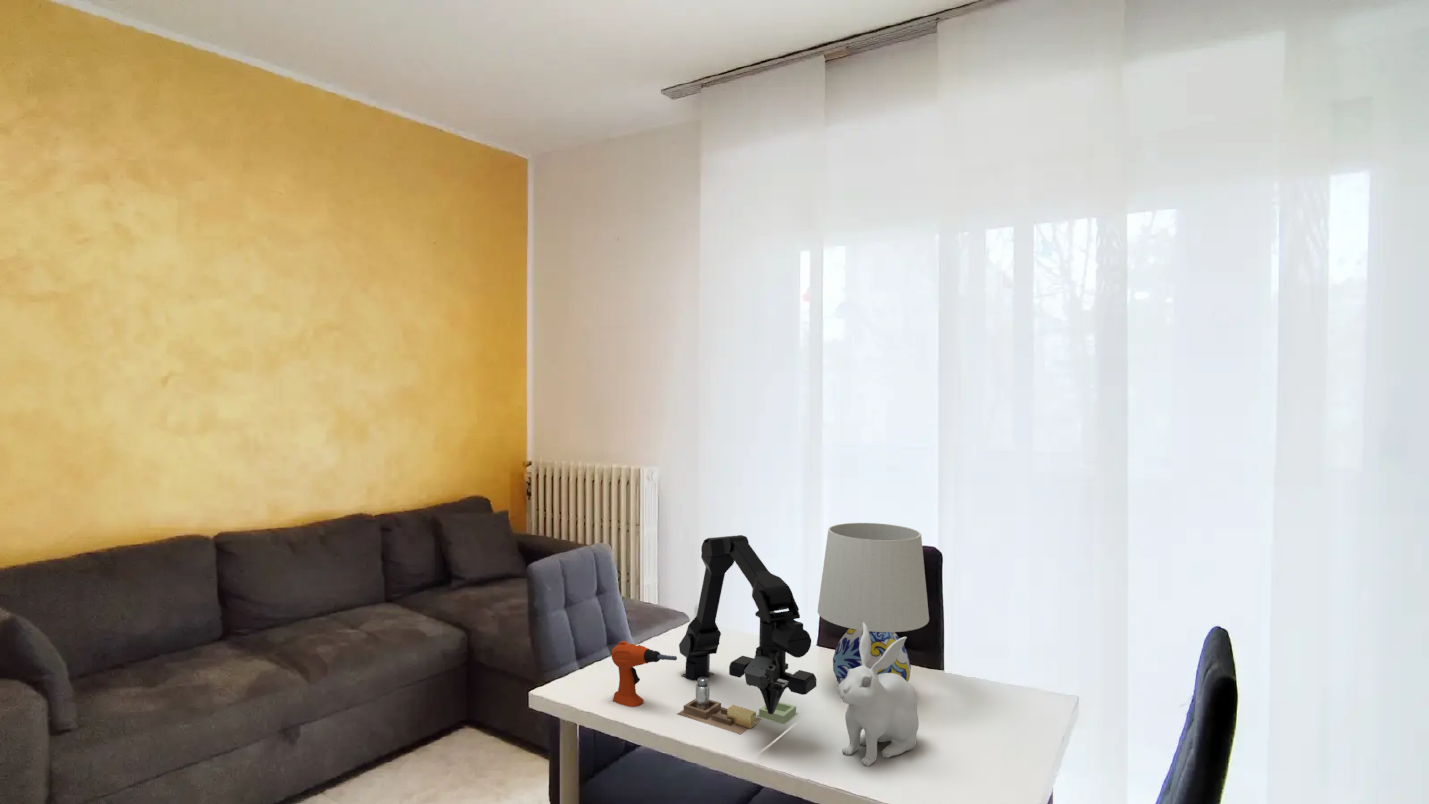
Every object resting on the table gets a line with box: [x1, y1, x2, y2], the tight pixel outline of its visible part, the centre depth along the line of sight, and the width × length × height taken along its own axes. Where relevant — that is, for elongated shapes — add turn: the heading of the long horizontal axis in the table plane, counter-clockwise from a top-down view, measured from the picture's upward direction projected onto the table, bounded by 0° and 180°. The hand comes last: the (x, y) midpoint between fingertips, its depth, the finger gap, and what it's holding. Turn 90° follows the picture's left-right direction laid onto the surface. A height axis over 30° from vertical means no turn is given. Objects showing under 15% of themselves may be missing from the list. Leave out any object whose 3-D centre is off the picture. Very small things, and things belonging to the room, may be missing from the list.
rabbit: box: [837, 622, 920, 767], centre depth 152 cm, size 12×21×25 cm, turn 128°
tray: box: [756, 701, 799, 726], centre depth 167 cm, size 7×7×2 cm
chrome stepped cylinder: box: [695, 677, 711, 710], centre depth 168 cm, size 3×3×8 cm
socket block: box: [676, 698, 762, 735], centre depth 165 cm, size 9×17×2 cm, turn 57°
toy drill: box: [610, 640, 678, 708], centre depth 170 cm, size 5×19×15 cm, turn 60°
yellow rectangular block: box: [727, 704, 757, 729], centre depth 162 cm, size 2×6×3 cm, turn 57°
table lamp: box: [817, 522, 930, 685], centre depth 182 cm, size 27×27×40 cm
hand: (771, 713), depth 158 cm, fingers closed
